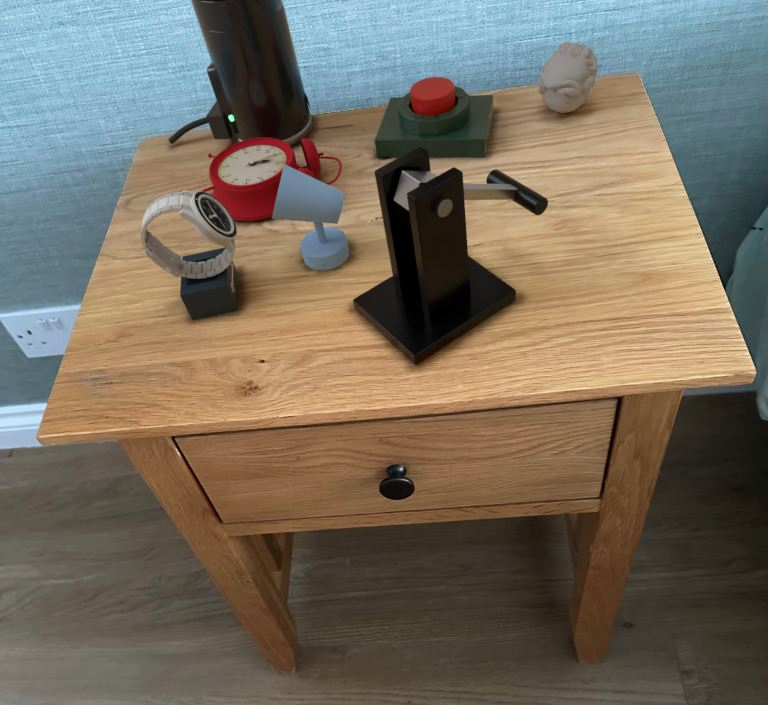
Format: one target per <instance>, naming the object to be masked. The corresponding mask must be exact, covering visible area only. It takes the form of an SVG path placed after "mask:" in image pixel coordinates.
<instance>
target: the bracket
mask: <svg viewBox="0 0 768 705" xmlns="http://www.w3.org/2000/svg"><path fill="white" fill-rule="evenodd" d="M430 162H431V161H430V157H429V151H428V150H426V149H425V148H423V147H421V146H420V147H418V148H416V149H414V150H412V151H410V152H408V153H407V154H405V155H403V156H401V157H396V158H395V159H394V160H392V161H390V162H388V163H386V164H384V165H383V166H381V167H379V168H377V169H375V170H374V171H373V172H374V176H375V182H376V183H375V184H376V189H377V194H378V199H379V205H380V211H381V216H382V222H383V228H384V233H385V240H386V245H387V250H388V257H389V262H390V268H391V274H392V275H391V276H390V277H388V278H387V279H384V280H383V281H381V282H380V283H378V284H376V285H375V286H373V287H371V288H370V289H368V290H366V291H364V292H363V293H361V294H359V295H357V297H354V298H353V299H352V302H353V307H354V310H355V311H356V312H358V314H360V315H361V316H362V317H363V318H364V319H365V320H366V321H367V322H368V323H369V324H371V325H372V326H373V328H375V329H376V330H377V331H378V332H379V333H380V334H381V335H382V336H384V338H386V339H387V340H388V341H389V342H390V343H391V344H392V345H393V346H394V347H395V348H396V349H397V350H398V351H399V352H400V353H401V354H402V355H404V356H405V357H406V358H407V359H408V360H409V361H410V362H411V363H412V364H413V365H414V366H417V365H419V364H420V363H422V362H423V361H425V360H426V359H428V358H430V357H431V356H432V355H434V354H436V353H437V352H439V351H440V350H441V349H443V348H445V347H446V346H447V345H449V344H450V343H452V342H454V341H455V340H457V339H458V338H460V337H462V336H463V335H465V334H466V333H468V332H469V331H470V330H472V329H474V328H475V327H477V326H478V325H480V324H481V323H483V322H484V321H486V320H487V319H489V318H490V317H492V316H493V315H495V314H497V313H498V312H499V311H501V310H503V309H504V308H506V307H507V306H509V305H510V304H511V303H513V302H515V301H516V300H517V291H516V290H517V289H515V288H514V287H512V286H511V285H509V283H507V282H505V281H504V280H503V279H502V278H500V277H499V276H497V275H496V274H494V273H493V272H491V271H490V270H488V268H486V267H485V266H484V265H482V264H480V263H479V262H477V261H476V260H475V259H474V258H472V257H471V256H470V255H469V250H468V249H469V247H468V234H467V233H468V232H467V219H466V205H465V202H466V200H464V186H463V183H464V173H463V171H461V169H458V168H457V167H456V166H452V167H451V168H449V169H448V170H445V171H444V172H442V173H440V174H439V175H436V176H437V177H435V178H433V179H431V180H430V181H428V182H426V183H424V184H422V185H421V186H419V187H417V188H415V189H413V190H412V191H410V192H408V193H407V199H408V206H409V211H408V210H406V209H405V208H404V207H402V206H401V205H400V204H398V203H397V202H395V201H394V197H395V194H396V190H397V186H398V183H399V179H400V176H401V172H402V170H405V171H430V172H432V170H431V163H430Z"/></svg>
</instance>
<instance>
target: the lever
mask: <svg viewBox="0 0 768 705" xmlns="http://www.w3.org/2000/svg"><path fill="white" fill-rule="evenodd" d="M437 176H438V175H437V174H435V173H433V172H432V171H431V172H430V171H405V170H402V172H401V176H400V179H399V183H398V186H397V190H396V194H395V197H394V201H395V202H397V203H398V204H400V205H401V206H402V207H404V208H405V209H406V210H408V211H409V206H408V199H407V193H408V192H410V191H412V190H413V189H415V188H417V187H419V186H421V185H422V184H424V183H426V182H428V181H430V180H431V179H433V178H435V177H437ZM485 182H486V183H473V182H471V183H470V182H469V183H467V182H466V183H465V182H463V186H464V201H495V200H496V201H510V200H511V201H512V202H514V203H515V204H517V205H519V206H520V207H522V208H524V209H526V211H529V212H530V213H532V214H534V215H535V216H540V215H542V214H544V213H545V211H546V210H547V208H548V206H549V200H548V198H547V197H545V196H544V195H541V194H540V193H538V192H537V191H535V190H533V189H531V188H530V187H528V186H526V185H524V184H523V183H521V182H519V181H518V180H516V179H515V178H513V177H511V176H509V175H508V174H506V173H504V172H503V171H502V170H501V171H500V170H499V169H496V168H495V169H492V170H491V171H490V172H489V173H488V175H487V176H486V181H485Z"/></svg>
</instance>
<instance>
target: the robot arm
mask: <svg viewBox="0 0 768 705" xmlns="http://www.w3.org/2000/svg"><path fill="white" fill-rule="evenodd" d="M190 2H191V5H192V8H193V11H194V15H195V17H196V20H197V23H198V25H199V28H200V31H201V32H200V33H201V34H202V38H203V41H204V43H205V44H204V45H205V48H206V49H207V53H208V55H209V58H210V60H211V62H210V64H209V65H208V66H207V68H206V74H207V76H208V80H209V82H210V85H211V88H212V91H213V95H214V97H215V99H216V100H215V102H214V103H213V105H212V106H211V108H210V110H209V111H208V113H207V114H206V116H205V117H202V118H199V119H196V120H193V121H191V122H190V123H188V124H185V125H184V126H182V127H181V128H179V129H178V130H177V131H176V132H175V133H173V135H171V136H170V137H169V138H168V140H167V141H168V143H170V144H171V145H173V144H174V143H176V142H177V141H178V140H179V139H180V138H182V137H183V136H184V135H186V134H187V133H188V132H190V131H192V130H194V129H196V128H198V127H201V126H204V125H207V124H208V125H209V129H210V131H211V134H212V136H213V139H214V140H230V143H231V145H233V144H235V143H238V142H241V141H244V140H248V139H253V138H263V137H267V138H275V139H279V140H282V141H284V142H286V143H287V144H288V145H289V146H290V147H292V146H294V145H297V144H298V143H301V141H300V140H301V139H305V138H307V136H308V135H309V134H310V132H311V131H312V130H313V125H314V123H313V119H312V118H313V117H312V113H311V111H310V108H311V105H310V102H309V97H308V96H307V94H306V92H305V88H304V84H303V80H302V75H301V72H300V67H299V63H298V59H297V55H296V50H295V47H294V43H293V39H292V34H291V30H290V26H289V21H288V17H287V13H286V10H285V5H284V1H283V0H190Z"/></svg>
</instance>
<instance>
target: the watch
mask: <svg viewBox="0 0 768 705" xmlns="http://www.w3.org/2000/svg"><path fill="white" fill-rule="evenodd" d="M172 212H178V214H179V216H181V218H184V219H185V220H187V221H188V222H189V223H190V224H191V226H192V227H193V229H194V230H195V232H197V233H198V234H199V235H200V236H201V237H202V238H203V239H205V241H207V242H209V243H210V244H212V245H217V246H222V247H220V248H216V249H215V248H214V249H212V250H211V249H210V250H207V251H206V250H205V251H201V252H197V253H191V254H188V255H182V257H181V255H180V254H178V253H176V252H175V251H173V250H171V249H170V248H168V247H167V246H165V244H163V243H162V242H161V241H160V239H158V238H157V237H156V236H154V235H153V233H152V232H151V231H149V230H148V227H149V225H151V223H152V222H153V221H154V219H157V218H159V217H160V216H162V215H165V214H169V213H172ZM142 216H143V217H142V220H141V221H142V222H141V230H140V243H141V245H142V247H143V248H142V249H143V250H144V254H145V255H146V256H147V257H148V258H149V259H150V260H151V261H152V262H154V264H155V265H157V266H158V267H159V268H161V269H162V270H164V271H165V272H167V273H168V274H170V275H172V276H174V277H176V278H179V277H180V291H179V297H180V299H181V301H182V303H183V305H184V306H185V309H186V310H187V313H188V315H189V317H190V319H191V321H193V320H198V319H203V318H208V317H211V316H216V315H221V314H227V313H230V312H236V311H238V310H239V307H238V306H239V305H238V304H239V302H238V271H237V268H236V265H235V263H234V257H235V253H236V241H235V240H236V237H237V234H238V228H237V225H236V222H235V220H234V219H233V218H232V216H231V214H230V213H229V212H228V210H227V209H226V208H225V207H224V205H223V204H222V203H221V202H220V201H218V200H217V199H216V198H215V197H213V196H212V194H210V193H208V192H203V191H201V190H197V191H191V190H185V189H184V190H182V191H175V192H170V193H166V194H164V195H162V196H159V197H158V198H156V199H154V200H153V201H152V202H151V203H150V204H149V205H148V206H147V208H146V210H145V211H144V213H143V215H142Z"/></svg>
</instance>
